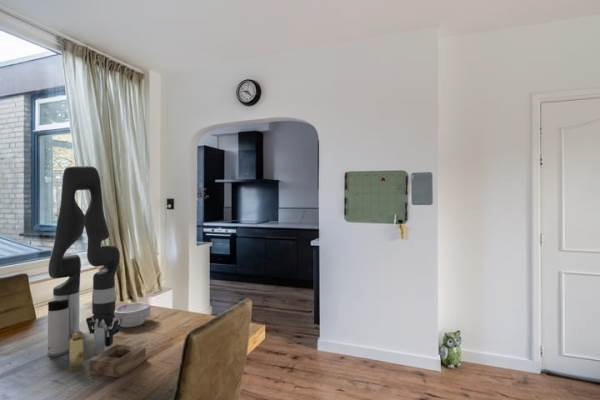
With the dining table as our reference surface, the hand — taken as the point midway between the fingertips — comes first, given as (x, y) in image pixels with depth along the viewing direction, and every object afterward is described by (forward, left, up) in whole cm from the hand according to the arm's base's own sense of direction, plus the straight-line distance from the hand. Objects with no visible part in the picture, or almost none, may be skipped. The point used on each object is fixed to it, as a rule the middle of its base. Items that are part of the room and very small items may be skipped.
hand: (103, 345), depth 125 cm
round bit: (0, -12, -3) cm, 12 cm away
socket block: (+13, -8, -3) cm, 16 cm away
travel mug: (-16, -4, -3) cm, 17 cm away
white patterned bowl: (-9, +27, -3) cm, 29 cm away
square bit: (0, 0, -3) cm, 3 cm away
